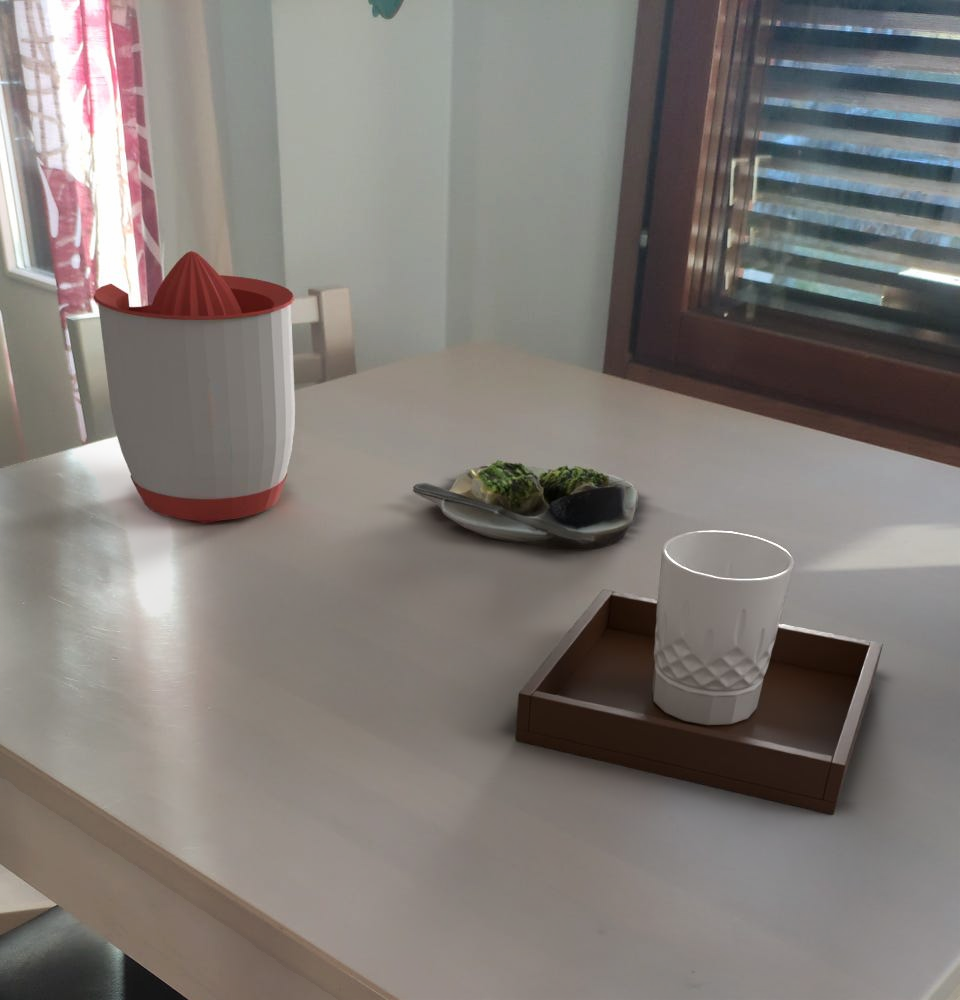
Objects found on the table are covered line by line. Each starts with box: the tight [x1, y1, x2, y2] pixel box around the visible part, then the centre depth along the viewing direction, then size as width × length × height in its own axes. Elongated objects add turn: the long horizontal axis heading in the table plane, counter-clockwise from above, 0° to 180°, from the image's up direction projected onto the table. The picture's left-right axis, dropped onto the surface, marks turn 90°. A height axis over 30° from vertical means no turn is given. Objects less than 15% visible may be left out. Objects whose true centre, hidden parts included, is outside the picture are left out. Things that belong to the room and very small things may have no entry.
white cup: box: [653, 530, 795, 725], centre depth 79 cm, size 8×8×10 cm
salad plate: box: [412, 460, 639, 551], centre depth 109 cm, size 19×18×5 cm
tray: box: [514, 588, 884, 815], centre depth 81 cm, size 20×18×3 cm
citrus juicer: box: [93, 250, 296, 525], centre depth 104 cm, size 16×17×20 cm
